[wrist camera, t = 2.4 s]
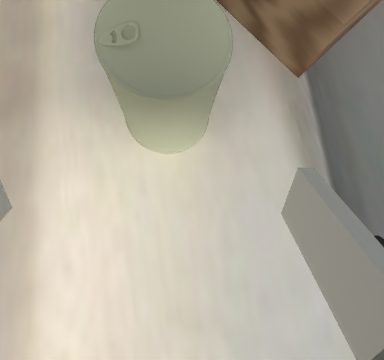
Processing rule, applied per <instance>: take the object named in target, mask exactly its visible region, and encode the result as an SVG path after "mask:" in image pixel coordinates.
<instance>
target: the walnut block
mask: <svg viewBox="0 0 384 360" xmlns="http://www.w3.org/2000/svg"><path fill="white" fill-rule="evenodd" d="M217 1H218V2H219V3H220V4H221V5H222V6H223V7H224V8H225V9H226V10H227V11H228V12H229V13H230V14H232V15H233V16H234V17H235V18H236V19H237V20H238V21H239V22H240V23H241V24H242V25H243V26H244V27H245V28H246V29H247V30H248V31H249V32H251V33H252V34H253V35H254V36H255V37H256V38H257V39H258V40H259V41H260V42H261V43H262V44H263V45H264V46H265V47H266V48H267V49H268V50H269V51H271V52H272V53H273V54H274V55H275V56H276V57H277V58H278V59H279V60H280V61H281V62H282V63H283V64H284V65H285V66H286V67H287V68H288V69H290V70H291V71H292V72H293V73H294V74H295V75H296V76H297V77H298V78H299V77H300V76H301V75H302V74H303V73H304V72H305V71H306V70H307V69H308V68H309V67H310V66H312V65H313V64H314V63H315V62H316V61H317V60H318V59H319V58H320V57H321V56H322V55H323V54H324V53H326V52H327V51H328V50H329V49H330V48H331V47H332V46H333V45H334V44H335V43H336V42H337V41H338V40H340V39H341V38H342V37H343V36H344V35H345V34H346V33H347V32H348V31H349V30H350V29H351V28H352V27H353V26H355V25H356V24H357V23H358V22H359V21H360V20H361V19H362V18H363V17H364V16H365V15H366V14H367V13H369V12H370V11H371V10H372V9H373V8H374V7H375V6H376V5H377V4H378V3H379V2H380V1H381V0H217Z"/></svg>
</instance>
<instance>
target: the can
mask: <svg viewBox="0 0 384 360" xmlns="http://www.w3.org/2000/svg"><path fill="white" fill-rule="evenodd" d="M94 44H95V49H96V53H97V56H98V59H99V61H100V63H101V65H102V67H103V68H104V70H105V72H106V74H107V76H108V78H109V80H110V83H111V85H112V87H113V89H114V91H115V94H116V96H117V98H118V101H119V103H120V105H121V108H122V110H123V113H124V115H125V119H126V123H127V127H128V129H129V131H130V133H131V134H132V136H133V137H134V138H135V140H136V141H137V142H138V143H140V144H141V145H142V146H144V147H145V148H147V149H149V150H152V151H154V152H158V153H165V154H170V153H178V152H181V151H184V150H186V149H188V148H190V147H192V146H193V145H194V144H196V143H197V142H198V141H199V140H200V138H201V137H202V136H203V134H204V132H205V130H206V128H207V125H208V120H209V114H210V111H211V108H212V105H213V102H214V99H215V96H216V94H217V91H218V88H219V85H220V83H221V80H222V77H223V74H224V72H225V70H226V68H227V66H228V64H229V62H230V59H231V54H232V48H233V39H232V32H231V28H230V25H229V22H228V20H227V18H226V16H225V14H224V12H223V11H222V9H221V8H220V7H219V5H218V4H217V3H216V2H215V1H214V0H108V1H107V2H106V4H105V5H104V6H103V8H102V9H101V11H100V13H99V16H98V18H97V21H96V24H95V30H94Z"/></svg>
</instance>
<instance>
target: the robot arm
mask: <svg viewBox="0 0 384 360" xmlns="http://www.w3.org/2000/svg"><path fill="white" fill-rule="evenodd" d="M11 208H12V205H11V203H10V201H9V199H8V197H7V194H6V192H5V190H4V188H3V185H2V183H1V181H0V221H1V220H2V219H3V218H4V217H5V215H6V214H7V213H8V212H9V211H10V210H11ZM281 214H282V216H283V218H284V220H285V222H286V224H287V226H288V228H289V230H290V232H291V234H292V236H293V237H294V239H295V241H296V243H297V245H298V247H299V249H300V251H301V253H302V255H303V257H304V259H305V261H306V263H307V265H308V267H309V268H310V270H311V272H312V274H313V276H314V278H315V280H316V282H317V284H318V286H319V288H320V290H321V292H322V294H323V296H324V298H325V300H326V301H327V303H328V305H329V307H330V309H331V311H332V313H333V315H334V317H335V319H336V321H337V323H338V325H339V327H340V329H341V331H342V332H343V334H344V336H345V338H346V340H347V342H348V344H349V346H350V348H351V350H352V352H353V354H354V356H355V358H356V360H384V239H383V238H381V237H380V236H373V235H372V234H371V232H370V231H369V230H368V229H367V228H366V227H365V226H364V224H363V223H362V222H361V221H360V220H359V219H358V218H357V216H356V215H355V214H354V213H353V212H352V211H351V210H350V209H349V207H348V206H347V205H346V204H345V203H344V202H343V201H342V199H341V198H340V197H339V196H338V195H337V194H336V193H335V191H334V190H333V189H332V188H331V187H330V186H329V185H328V183H327V182H326V181H325V180H324V179H323V178H322V177H321V176H320V174H319V173H318V172H317V171H316V170H315V169H314V168H298V169H297V172H296V175H295V177H294V180H293V183H292V186H291V188H290V191H289V194H288V196H287V199H286V202H285V204H284V207H283V210H282V213H281Z"/></svg>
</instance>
